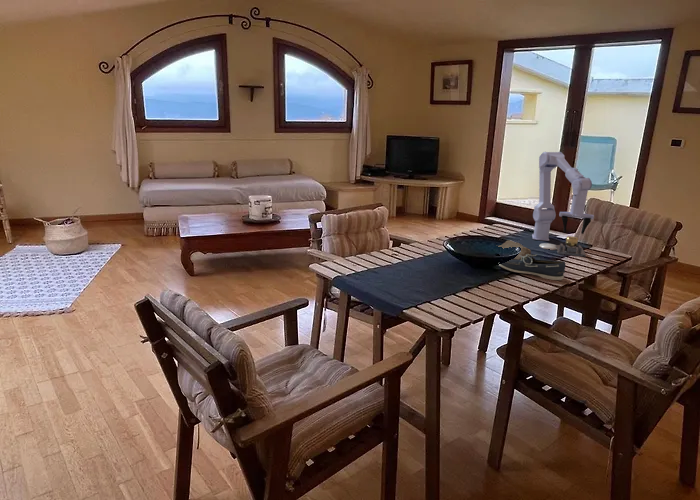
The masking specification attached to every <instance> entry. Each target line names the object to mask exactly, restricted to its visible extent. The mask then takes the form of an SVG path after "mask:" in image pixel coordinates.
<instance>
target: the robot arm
mask: <svg viewBox="0 0 700 500" xmlns="http://www.w3.org/2000/svg"><path fill="white" fill-rule="evenodd" d="M565 157H566V155H565V154H564V153H563V152H562V151H543V152H542V153H541V154H540V155H539V157H538V168H539V170H538V171H539V175H538V177H539V178H538V179H539V180H538V181H539V182H538V183H539V185H538V186H539V189H538V193H539V195H538V196H539V197H538V203H537V204H536V205H534V207H533V208H534V209H533V213H532V218H533V220H534V222H535V223H534V229H533V230H534V231H533V233H532V234H531V236H532V240H537V241H543V242H545V241H546V242H549V241H550V238H549V235H550V230H551V229H550V228H551V224H552V223H553V221H554V220H555V219H556V215H557V214H556V210H555V206H554V205H553V203H552V202H551V198H552V197H551V196H552V195H551V194H552V193H551V190H552V189H551V188H552V187H551V186H552V184H551V183H552V178H551V177H552V176H551V175H552V174H551V172H552V171H553V170H554V169H556V168H557V167H558V168H559V169H561V170H562V172H564V173H565V174H564V175H565V178H566V179H567V180H568V182H569V183H570V184H571V189H572V201H571V206H570V211H559V214H558V215H559V217H561V221H562V225H563V233H566V232H567V225H568V221H569V218H576V219H583V221H582V226H581V227H582V228H581V232H580V233H581V235H584V233H585V231H586V229H587V228H588V226H589V224H590V223H591V222H592V220H593V221H594V219H595V215H594V214H590V213H586V212H585V209H586V204H587V202H586V201H587V198H588V193H589V192H588V191H590V190H591V189H592V187H593V183H592V180H591V178H590V177H586V176H584V175H583V174H582V173H581V172H580V171H579V169H578V168H576V167H572V166H571V165H570V164H569V162H568V161H567V160H566V159H565Z"/></svg>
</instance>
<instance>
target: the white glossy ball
mask: <svg viewBox="0 0 700 500" xmlns="http://www.w3.org/2000/svg"><path fill="white" fill-rule="evenodd" d="M556 245H557V244H554V243H543V242H542V243H540V244H539V246H538V247H540V248H541V249H544V250H548V249H550V251H557V250H556V249H557V248H556Z"/></svg>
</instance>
